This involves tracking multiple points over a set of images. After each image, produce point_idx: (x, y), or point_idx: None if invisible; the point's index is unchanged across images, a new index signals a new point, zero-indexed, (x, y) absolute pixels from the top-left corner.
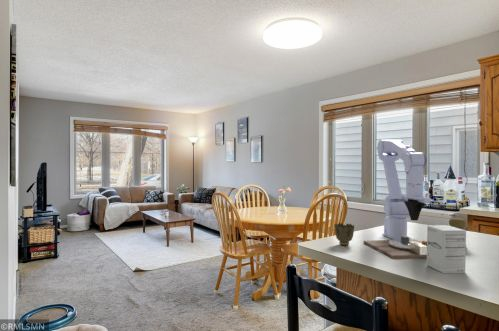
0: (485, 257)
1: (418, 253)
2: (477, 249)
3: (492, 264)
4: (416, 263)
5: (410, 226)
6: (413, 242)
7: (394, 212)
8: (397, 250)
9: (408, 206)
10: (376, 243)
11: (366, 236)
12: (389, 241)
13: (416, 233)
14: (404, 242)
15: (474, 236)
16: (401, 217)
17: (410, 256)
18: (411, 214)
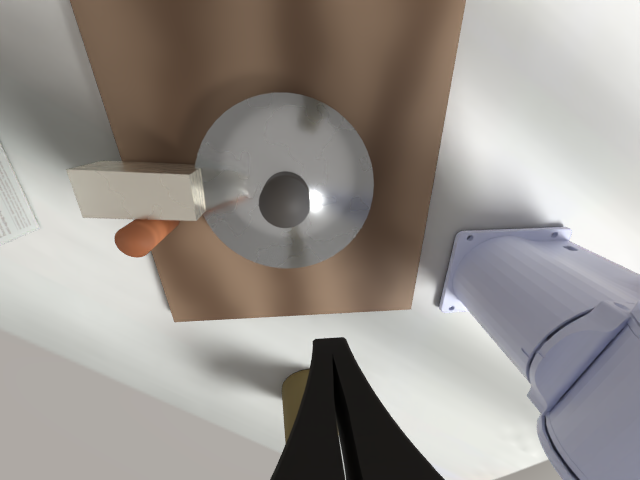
0: (184, 393)
1: (113, 161)
2: (276, 419)
3: (100, 369)
4: (12, 81)
5: None
6: (174, 191)
7: (624, 353)
8: (202, 88)
9: (375, 473)
10: (375, 36)
11: (587, 114)
12: (332, 114)
13: (512, 370)
14: (267, 180)
15: None
16: (540, 356)
17: (111, 110)
18: (322, 378)
